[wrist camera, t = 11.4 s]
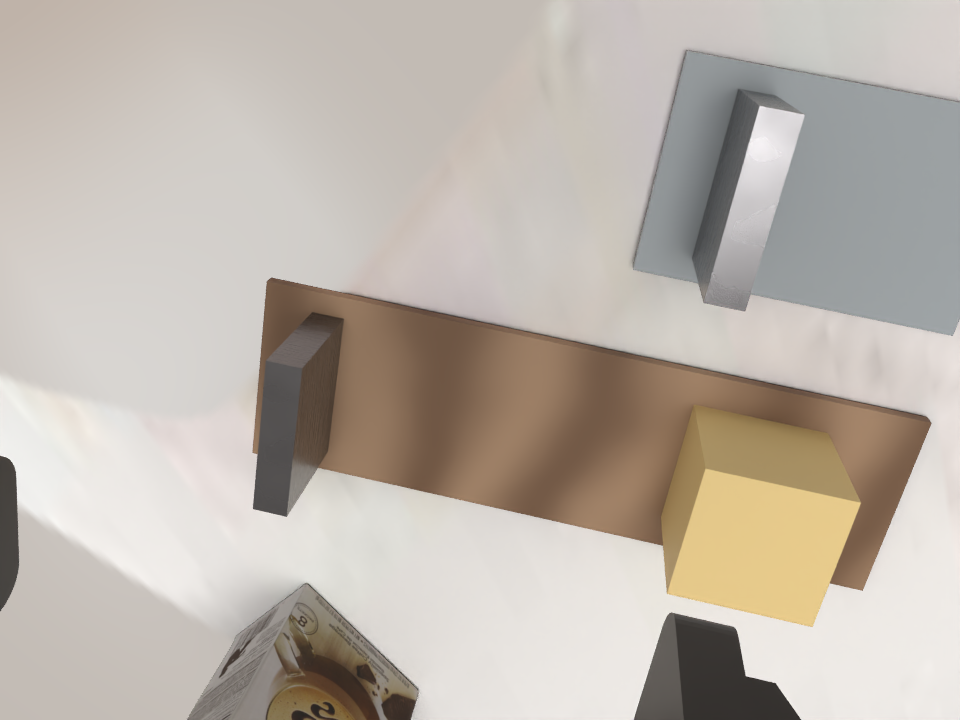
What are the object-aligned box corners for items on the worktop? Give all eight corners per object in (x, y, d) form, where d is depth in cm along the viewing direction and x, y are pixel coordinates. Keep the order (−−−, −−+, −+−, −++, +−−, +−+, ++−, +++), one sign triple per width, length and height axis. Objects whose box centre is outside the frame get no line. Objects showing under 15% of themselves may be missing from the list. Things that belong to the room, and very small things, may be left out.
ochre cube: (693, 404, 41) (705, 468, 35) (828, 433, 40) (861, 503, 35) (660, 517, 43) (666, 593, 38) (787, 545, 43) (812, 627, 37)
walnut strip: (256, 447, 46) (201, 516, 40) (271, 277, 42) (213, 325, 36) (859, 583, 44) (898, 678, 38) (927, 417, 40) (981, 492, 34)
